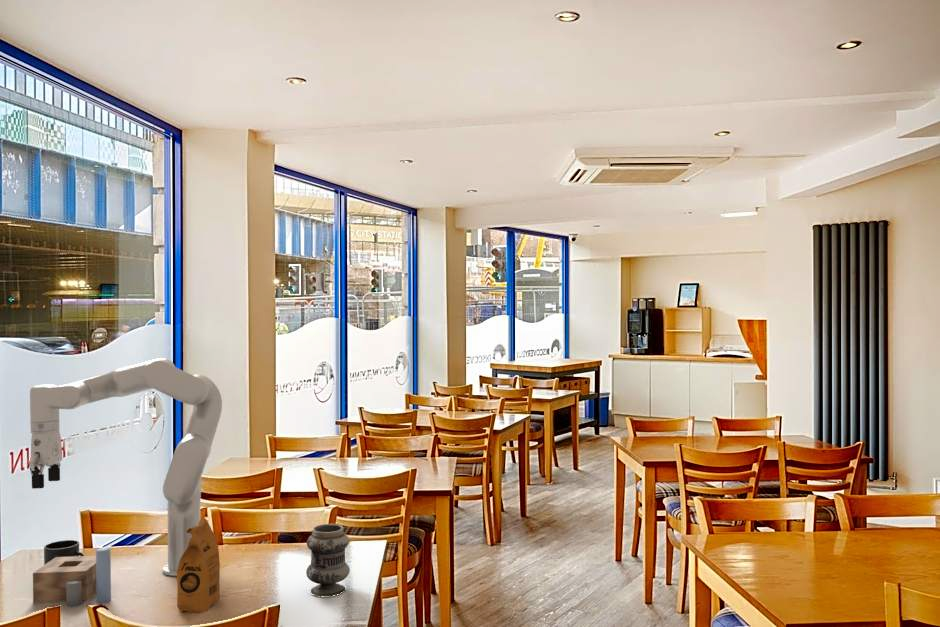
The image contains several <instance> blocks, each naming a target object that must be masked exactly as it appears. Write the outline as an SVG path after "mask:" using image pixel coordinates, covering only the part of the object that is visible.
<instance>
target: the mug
mask: <svg viewBox="0 0 940 627" xmlns="http://www.w3.org/2000/svg"><path fill="white" fill-rule="evenodd" d="M43 554H44V555H43V558H44V559H43V566H44V565H45V564H47V563H48V562H50V561H51V560H52V559H54V558H55V557H72V556H85V554H84V553H82V552H81V551H80V542H79V541H78V540H73V539H68V540H67V539H66V540H58V541H57V540H56V541H54V542H50V543H47V544H45V546H44V548H43Z"/></svg>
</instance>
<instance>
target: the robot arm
mask: <svg viewBox="0 0 940 627" xmlns="http://www.w3.org/2000/svg"><path fill="white" fill-rule="evenodd" d="M153 389H154V390H156V391H158V392H159V393H162V394H164V395H165V396H168V397H170V398H173V399H175V400H177V401H178V402H181V403H184V404H185V405H189V406H193V408H192V411H191V415H190V418H189V421H188V424H187V428H186V430H185V432H184V434H183V437H182V439H181V441H179V443H178V444H177V445H176V448H175V450H174V453H173V455H172V458H171V461H170V464H169V467H168V471H167V473H166V476H165V479H164V481H163V485H162V494H163V496H164V498H165V499H166V501H167V520H166V521H167V564H166V565H165V564H164V566H162V573H163V574H164V575H166V576H172V577H177V569H178V564H179V561H180V558H181V557H182V555H183V553H184V552H185V550H186V549H187V547H188V544H189V541H190V539H191V537H192V535H191V533H187V530H188V529H189V528H192V527H195V526H199V521H200V520H201V502H202V501H201V497H202V476H203V473H204V469H205V467H206V463H207V461H208V458H209V456H210V455H211V451H212V445H213V442H214V438H215V435H216V432H217V428H218V424H219V422H220V418H221V415H222V410H223V400H222V395H221V391H220V389H219V388H218V386H217V385H216V384H215V382H214V381H213V380H211V379H210V378H209V377H207V376H206V375H203V374H194V375H193V374H191V373H188V372H186V371H185V370H182V369H180V368H179V367H176V365H175V363H173V361H172V360H170V359H168V358H165V357H163V358H162V357H161V358H160V357H159V358H156V359H150V360H148V361H145V362H141V363H137V364H132V365H129V366H124V367H121V368H118V369H114V370H112V371H110V372H108V373H103V374H101V375H97V376H93V377H90V378H85V379H82V380H79V381H73V382H70V383H68V384H66V383H65V384H62V385H55V384H38V385H33V386H32V387H31V388H30V390H29V411H30V412H29V413H30V414H29V416H30V422H29V423H30V434H31V440H30V460H29V461H28V466H29V471H30V475H31V488H32V489H44V488H45V475H44V470H45V467H48V468H47V472H48V473H47V475H48V476H47V477H48V482H59V481H61V461H62V460H63V447H62V436H61V432H60V409H61V410H74V409H77V408H79V407H82V406H85V405H87V404H88V405H89V404H92V403H95V402H99V401H102V400H106V399H110V398H117V397H118V398H124V397H127V396H131V395H135V394H139V393H141V392H146V391H149V390H153Z"/></svg>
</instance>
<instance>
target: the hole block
mask: <svg viewBox="0 0 940 627" xmlns="http://www.w3.org/2000/svg"><path fill="white" fill-rule="evenodd" d="M74 580H80V581H81V601H87V600H88V599H89V598H91V596H93V595H94V594H95V593H96V555H84V556H80V555H79V556H72V557H55V558H54V559H52V560H51V561H50V562H48V563H47V564H45V565H44V564H43V566H41V567H40V568H38V569H36V570H35V571H34V572H32V602H33V603H46V602H67V595H66V583H67V582H70V581H74Z"/></svg>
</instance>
